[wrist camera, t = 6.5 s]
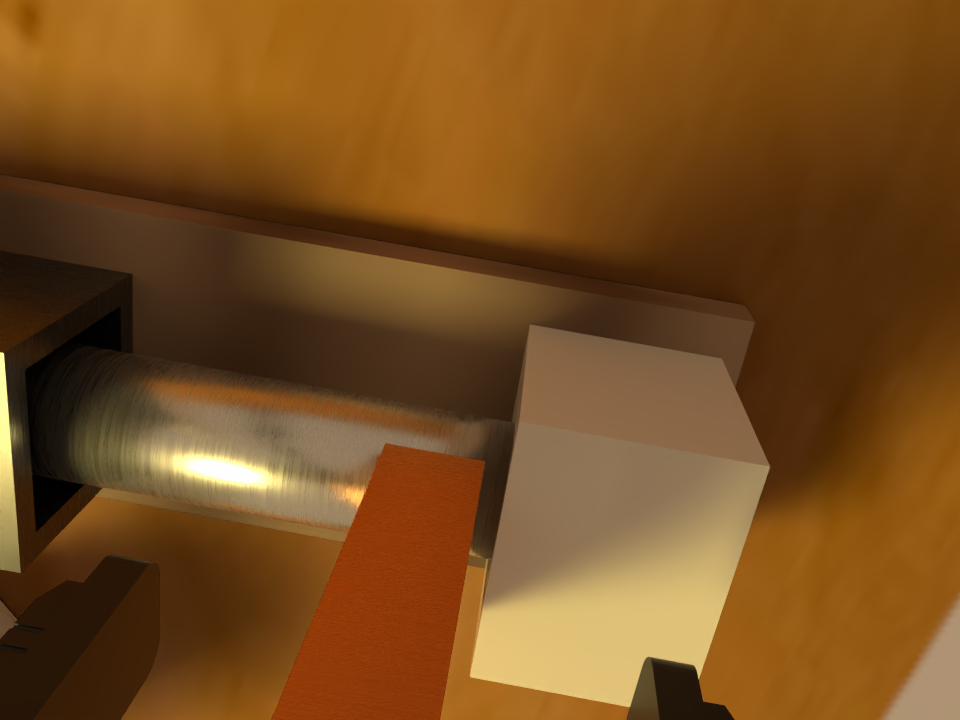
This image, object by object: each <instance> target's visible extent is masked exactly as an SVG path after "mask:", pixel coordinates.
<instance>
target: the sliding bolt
mask: <svg viewBox="0 0 960 720" xmlns="http://www.w3.org/2000/svg"><path fill="white" fill-rule="evenodd" d="M25 377H26V392H27V407H28V421H29V436H30V451H31V466H32V475H37V476H42V477H48V478H53V479H59V480H64V481H70V482H75V483H80V484H86V485H91V486H97V487H102V488H107V489H113V490H118V491H124V492H129V493H134V494H140V495H145V496H151V497H156V498H161V499H167V500H172V501H178V502H183V503H188V504H194V505H199V506H205V507H210V508H216V509H221V510H226V511H232V512H237V513H243V514H248V515H253V516H259V517H264V518H270V519H275V520H280V521H286V522H291V523H297V524H302V525H307V526H313V527H318V528H324V529H329V530H334V531H340V532H345V533H348V535H347V537H346V539H345V542H344V544H343V547H342V549H341V552H340V554H339V556H338V559H337V561H336V564H335V566H334V569H333V571H332V573H331V576H330V578H329V581H328V583H327V586H326V588H325V590H324V593H323V595H322V598H321V600H320V602H319V605H318V607H317V610H316V612H315V615H314V617H313V619H312V622H311V624H310V627H309V629H308V632H307V634H306V636H305V639H304V641H303V644H302V646H301V649H300V651H299V653H298V656H297V658H296V661H295V663H294V666H293V668H292V670H291V673H290V675H289V678H288V680H287V683H286V685H285V687H284V690H283V692H282V695H281V697H280V700H279V702H278V704H277V707H276V709H275V712H274V714H273V717H272V719H271V720H440V717H441V711H442V706H443V700H444V694H445V689H446V683H447V677H448V671H449V666H450V660H451V654H452V649H453V643H454V637H455V631H456V626H457V620H458V614H459V609H460V603H461V597H462V592H463V586H464V580H465V574H466V569H467V563H468V557H469V555H470V556H475V557H481V558H486V559H492V554H493V549H494V544H495V539H496V534H497V528H498V523H499V518H500V513H501V508H502V503H503V497H504V492H505V487H506V482H507V477H508V472H509V466H510V461H511V456H512V448H513V439H514V431H515V423H513V422H507V421H502V420H496V419H491V418H485V417H480V416H474V415H468V414H463V413H457V412H452V411H446V410H441V409H435V408H430V407H424V406H419V405H413V404H408V403H402V402H397V401H391V400H385V399H380V398H374V397H369V396H363V395H358V394H352V393H347V392H341V391H336V390H330V389H325V388H319V387H313V386H308V385H302V384H297V383H291V382H286V381H280V380H275V379H269V378H264V377H258V376H253V375H247V374H241V373H236V372H230V371H225V370H219V369H214V368H208V367H203V366H197V365H192V364H186V363H181V362H175V361H170V360H164V359H158V358H153V357H147V356H142V355H136V354H131V353H125V352H120V351H114V350H109V349H103V348H98V347H92V346H86V345H81V344H75V343H70V342H66V343H64V344H63V345H61V346H60V347H58V348H57V349H55V350H54V351H52V352H51V353H49V354H48V355H46V356H45V357H43V358H42V359H40V360H39V361H37V362H36V363H34V364H33V365H31V366H30V367H28V368H27V369H25Z"/></svg>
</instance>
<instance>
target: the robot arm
mask: <svg viewBox="0 0 960 720" xmlns="http://www.w3.org/2000/svg"><path fill="white" fill-rule="evenodd" d="M159 637H160V571H159V567H158V565H157V564H156V563H154V562H148V561H143V560H138V559H132V558H127V557H122V556H116V555H109V556H107V557H105V558H104V559H103V560H102V561H101V563H100V564H99V565H98V566H97V567H96V569H95V570H94V571H93V572H92V573H91V575H90V576H89V577H88V578H87V579H86V581H85V582H84V583H79V582H74V581H68V580H67V581H65V582H64V583H62V584H60V585H59V586H57V587H55V588H54V589H52V590H50V591H49V592H47V593H45V594H43V595H42V596H40V597H38V598H37V599H35V601H34V602H33V603H32V604H31V605H30V606H29V607H28V608H27V609H26V611H25V612H24V613H23V614H22V615H21V616H20V617H19V618H18V620H17V621H16V622H15V623H14V626H13V628H9V630H8V631H7V632H6V633H5V634H4V635H3V636H2V637H1V639H0V720H121V718H122V717H123V715H124V713H125V712H126V710H127V709H128V707H129V705H130V704H131V702H132V701H133V699H134V697H135V696H136V694H137V692H138V691H139V689H140V688H141V686H142V684H143V683H144V681H145V680H146V678H147V676H148V674H149V672H150V670H151V668H152V666H153V663H154V660H155V657H156V654H157V650H158V645H159ZM626 720H734V718H733V717H732V715H731V714H730V712H729V711H728V710H727V708H726V707H725V706H724V705H719V704H713V703H708V702H703V699H702V694H701V689H700V684H699V679H698V674H697V670H696V668H695V666H694V665H691V664H685V663H680V662H675V661H669V660H664V659H659V658H653V657H647V658H646V659H645V661H644V663H643V666H642V669H641V672H640V675H639V679H638V682H637V686H636V689H635V692H634V696H633V699H632V702H631V706H630V709H629V712H628V716H627V719H626Z"/></svg>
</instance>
